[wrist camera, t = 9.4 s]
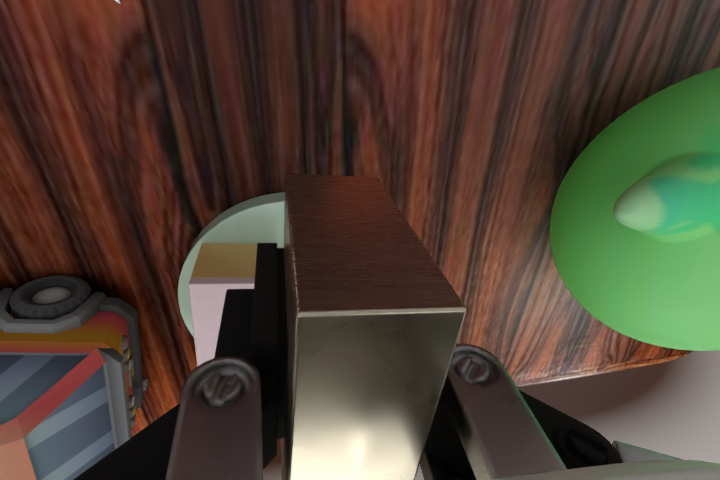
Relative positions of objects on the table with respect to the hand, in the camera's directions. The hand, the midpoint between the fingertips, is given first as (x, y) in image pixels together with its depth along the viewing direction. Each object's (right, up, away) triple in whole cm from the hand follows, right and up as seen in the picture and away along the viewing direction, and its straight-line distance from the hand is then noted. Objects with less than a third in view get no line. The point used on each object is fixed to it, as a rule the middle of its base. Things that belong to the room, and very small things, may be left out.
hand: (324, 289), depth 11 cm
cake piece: (-7, -3, +15) cm, 17 cm away
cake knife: (-1, -6, +3) cm, 7 cm away
